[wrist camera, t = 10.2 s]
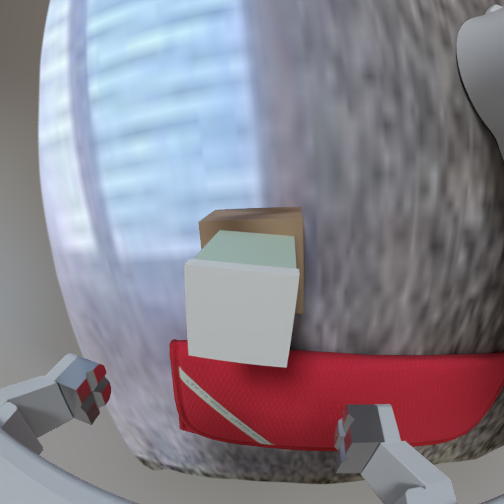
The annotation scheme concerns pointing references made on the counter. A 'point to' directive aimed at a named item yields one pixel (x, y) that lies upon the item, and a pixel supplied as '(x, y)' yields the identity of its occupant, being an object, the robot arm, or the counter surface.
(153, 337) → the counter surface
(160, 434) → the counter surface
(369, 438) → the robot arm
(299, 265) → the walnut block
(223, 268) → the sage tin
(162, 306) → the counter surface
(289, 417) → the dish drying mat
